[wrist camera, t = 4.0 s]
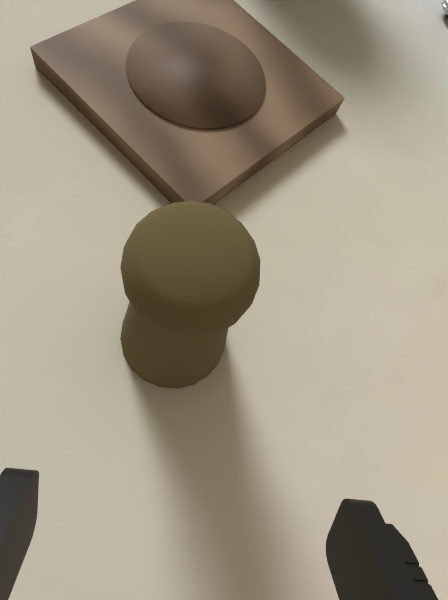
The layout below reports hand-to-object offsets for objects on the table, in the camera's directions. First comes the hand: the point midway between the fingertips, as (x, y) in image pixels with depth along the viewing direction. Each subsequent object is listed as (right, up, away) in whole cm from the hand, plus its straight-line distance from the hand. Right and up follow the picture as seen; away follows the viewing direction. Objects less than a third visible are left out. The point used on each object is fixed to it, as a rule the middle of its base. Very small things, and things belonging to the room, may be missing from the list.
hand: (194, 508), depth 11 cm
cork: (-2, +3, +13) cm, 14 cm away
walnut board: (-1, +21, +20) cm, 29 cm away
